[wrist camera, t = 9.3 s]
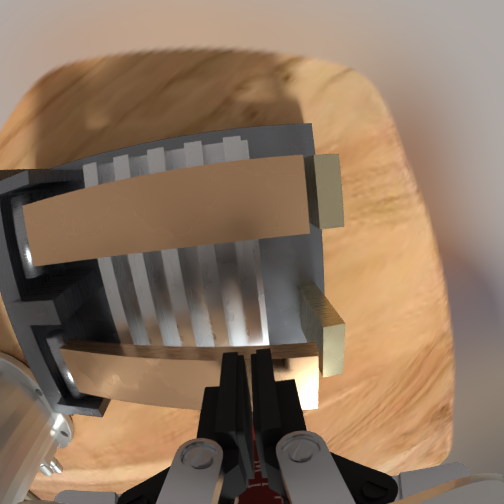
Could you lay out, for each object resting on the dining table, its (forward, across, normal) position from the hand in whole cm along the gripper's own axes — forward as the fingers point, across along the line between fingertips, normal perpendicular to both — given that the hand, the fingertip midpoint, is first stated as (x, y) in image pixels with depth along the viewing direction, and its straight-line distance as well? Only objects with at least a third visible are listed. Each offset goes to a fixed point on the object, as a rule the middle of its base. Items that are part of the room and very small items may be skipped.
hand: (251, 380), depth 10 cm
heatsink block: (+8, +4, -3) cm, 10 cm away
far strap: (+2, +4, 0) cm, 4 cm away
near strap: (+2, +4, -7) cm, 8 cm away
